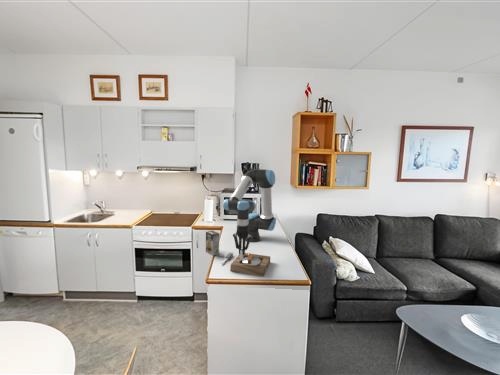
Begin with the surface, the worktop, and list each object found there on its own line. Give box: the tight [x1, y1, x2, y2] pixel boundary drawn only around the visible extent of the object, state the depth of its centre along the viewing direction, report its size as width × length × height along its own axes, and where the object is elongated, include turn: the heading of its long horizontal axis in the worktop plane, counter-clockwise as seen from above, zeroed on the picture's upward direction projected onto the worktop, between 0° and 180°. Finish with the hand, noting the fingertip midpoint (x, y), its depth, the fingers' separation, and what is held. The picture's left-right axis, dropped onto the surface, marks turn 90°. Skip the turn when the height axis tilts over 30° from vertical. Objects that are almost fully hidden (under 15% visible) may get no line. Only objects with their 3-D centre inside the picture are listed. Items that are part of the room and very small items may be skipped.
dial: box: [242, 253, 261, 266], centre depth 173 cm, size 13×13×8 cm
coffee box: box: [205, 230, 220, 256], centre depth 193 cm, size 9×6×16 cm
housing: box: [230, 252, 271, 277], centre depth 174 cm, size 22×22×5 cm
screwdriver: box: [220, 252, 234, 265], centre depth 182 cm, size 17×3×2 cm, turn 162°
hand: (241, 258), depth 170 cm, fingers closed
